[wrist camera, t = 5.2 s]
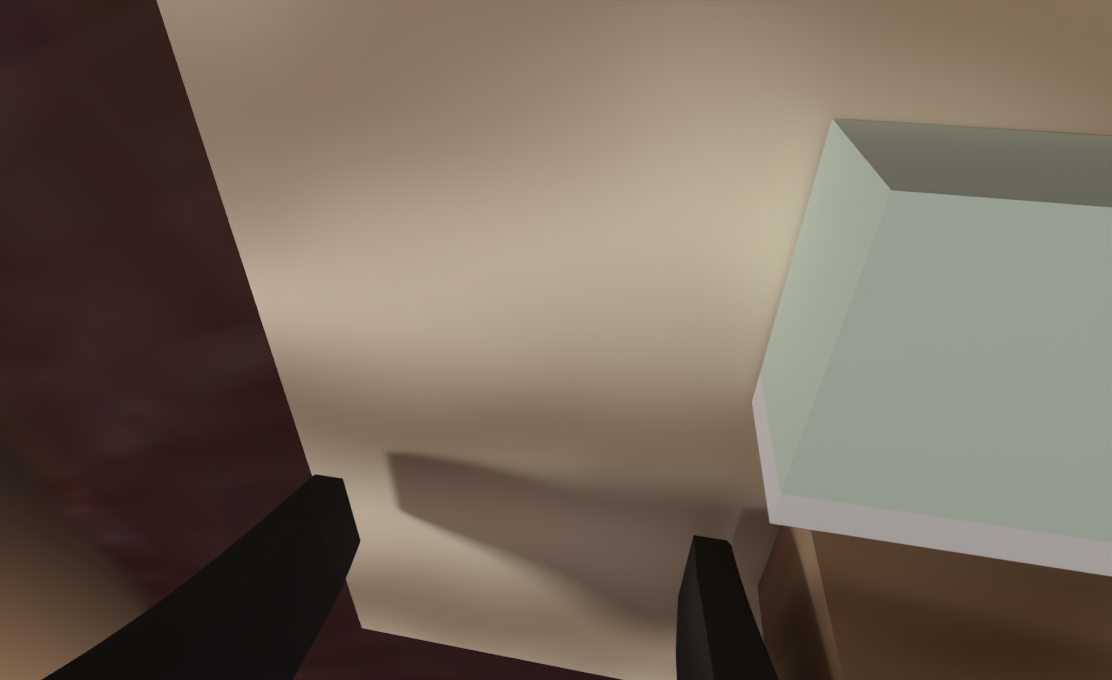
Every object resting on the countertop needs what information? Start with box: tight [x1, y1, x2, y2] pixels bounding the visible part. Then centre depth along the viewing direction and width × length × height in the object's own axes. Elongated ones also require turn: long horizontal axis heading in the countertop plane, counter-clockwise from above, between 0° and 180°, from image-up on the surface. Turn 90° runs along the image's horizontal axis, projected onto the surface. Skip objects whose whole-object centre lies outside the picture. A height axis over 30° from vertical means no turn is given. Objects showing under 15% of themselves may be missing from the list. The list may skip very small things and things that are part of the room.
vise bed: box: [157, 0, 1112, 680], centre depth 11 cm, size 16×22×1 cm
